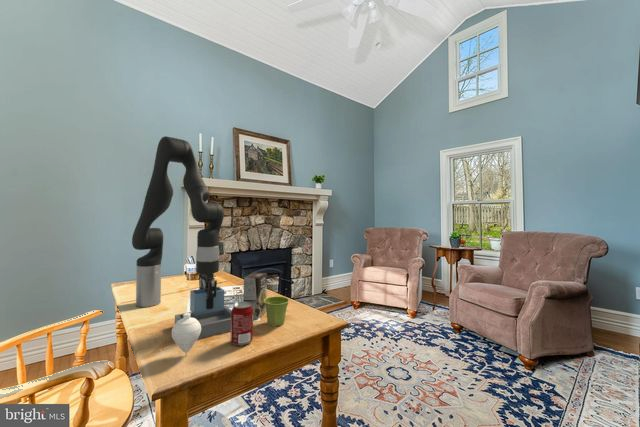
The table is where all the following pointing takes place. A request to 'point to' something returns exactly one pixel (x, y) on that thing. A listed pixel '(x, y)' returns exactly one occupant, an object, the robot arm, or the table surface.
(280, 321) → the plant pot
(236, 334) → the soda can
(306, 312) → the table surface
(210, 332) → the grey shallow tray
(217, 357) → the table surface
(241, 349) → the table surface
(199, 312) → the small crate
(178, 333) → the spinning top
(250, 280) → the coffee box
